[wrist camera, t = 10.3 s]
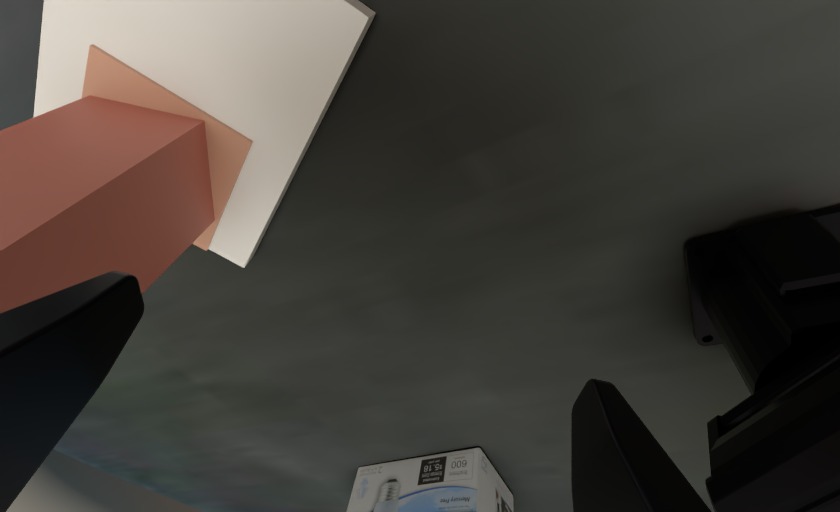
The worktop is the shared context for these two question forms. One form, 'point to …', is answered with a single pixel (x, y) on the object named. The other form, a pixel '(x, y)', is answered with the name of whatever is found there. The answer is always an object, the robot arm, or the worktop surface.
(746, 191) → the worktop surface
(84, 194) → the block
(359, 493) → the light bulb box
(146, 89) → the board
